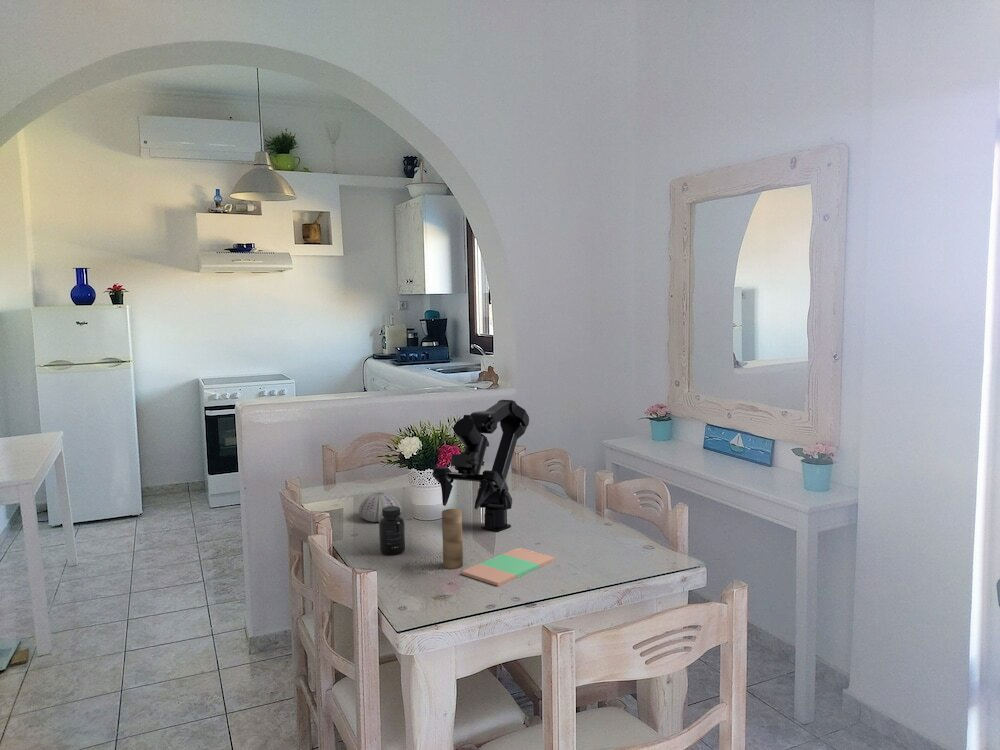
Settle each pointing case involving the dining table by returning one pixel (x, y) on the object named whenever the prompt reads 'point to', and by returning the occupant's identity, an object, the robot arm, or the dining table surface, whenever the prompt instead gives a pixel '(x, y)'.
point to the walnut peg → (452, 538)
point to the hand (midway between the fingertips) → (459, 507)
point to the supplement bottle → (391, 531)
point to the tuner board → (508, 566)
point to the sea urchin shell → (377, 506)
